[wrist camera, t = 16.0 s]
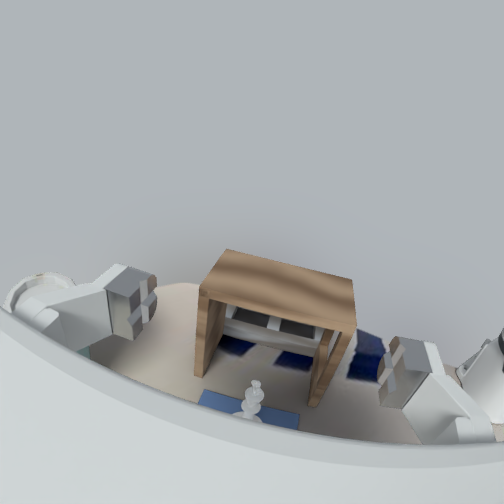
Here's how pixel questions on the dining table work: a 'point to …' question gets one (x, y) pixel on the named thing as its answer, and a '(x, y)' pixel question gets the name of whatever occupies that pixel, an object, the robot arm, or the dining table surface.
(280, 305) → the tunnel
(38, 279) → the disposable coffee cup
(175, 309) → the dining table surface
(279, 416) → the mat
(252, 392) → the chess piece
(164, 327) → the dining table surface
